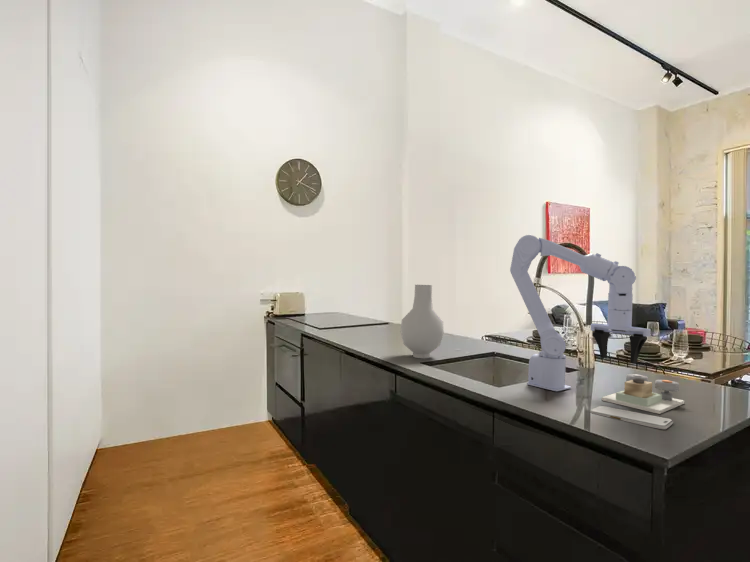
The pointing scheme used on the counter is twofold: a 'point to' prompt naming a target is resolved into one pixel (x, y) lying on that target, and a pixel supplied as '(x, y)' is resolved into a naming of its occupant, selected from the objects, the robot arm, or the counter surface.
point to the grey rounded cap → (667, 385)
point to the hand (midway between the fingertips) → (618, 359)
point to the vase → (422, 324)
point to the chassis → (644, 399)
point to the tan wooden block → (638, 388)
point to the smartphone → (633, 417)
